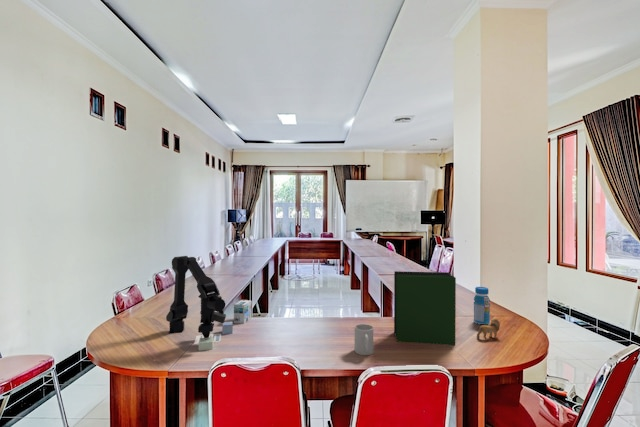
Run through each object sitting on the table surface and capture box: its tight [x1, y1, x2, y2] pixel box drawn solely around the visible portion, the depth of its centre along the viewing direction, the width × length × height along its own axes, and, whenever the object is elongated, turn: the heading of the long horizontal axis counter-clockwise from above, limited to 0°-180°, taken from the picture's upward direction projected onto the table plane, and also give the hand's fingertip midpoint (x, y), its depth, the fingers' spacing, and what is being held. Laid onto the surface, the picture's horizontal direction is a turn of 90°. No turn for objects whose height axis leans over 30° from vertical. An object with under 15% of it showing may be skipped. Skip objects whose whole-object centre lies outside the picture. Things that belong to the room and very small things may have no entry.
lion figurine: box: [476, 318, 501, 341], centre depth 168 cm, size 15×5×9 cm, turn 117°
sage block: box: [198, 337, 214, 351], centre depth 155 cm, size 6×6×4 cm
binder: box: [393, 270, 457, 346], centre depth 168 cm, size 27×15×32 cm, turn 83°
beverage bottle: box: [473, 286, 491, 325], centre depth 191 cm, size 8×8×20 cm
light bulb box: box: [233, 299, 253, 325], centre depth 194 cm, size 11×7×11 cm, turn 168°
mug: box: [353, 323, 374, 356], centre depth 150 cm, size 12×8×11 cm
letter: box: [193, 333, 222, 345], centre depth 165 cm, size 12×11×1 cm
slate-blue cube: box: [221, 320, 234, 335], centre depth 174 cm, size 5×5×5 cm
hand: (207, 340), depth 159 cm, fingers closed
